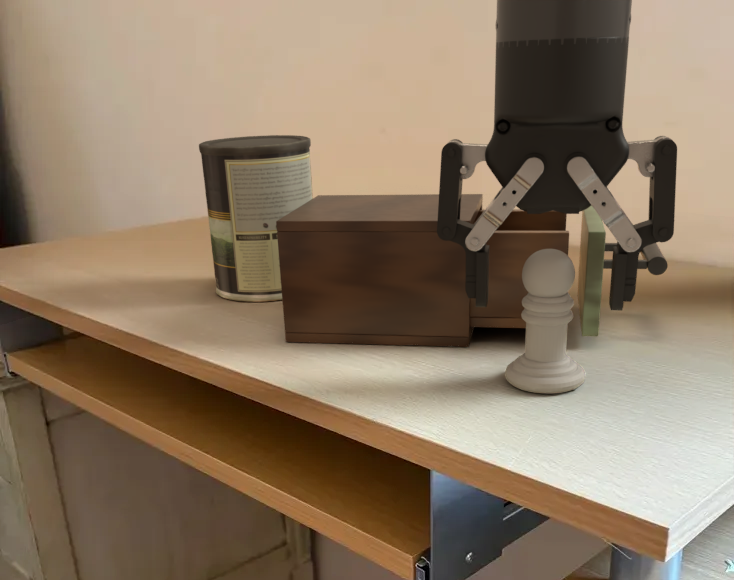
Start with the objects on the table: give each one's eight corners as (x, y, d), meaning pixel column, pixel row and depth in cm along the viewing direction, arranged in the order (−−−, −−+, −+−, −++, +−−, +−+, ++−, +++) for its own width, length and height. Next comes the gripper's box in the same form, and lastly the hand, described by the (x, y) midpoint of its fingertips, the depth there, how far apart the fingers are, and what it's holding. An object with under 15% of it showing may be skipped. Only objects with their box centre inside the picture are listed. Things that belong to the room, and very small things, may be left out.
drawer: (647, 297, 71) (656, 204, 68) (664, 338, 61) (676, 231, 58) (436, 293, 75) (435, 205, 72) (418, 332, 64) (416, 231, 61)
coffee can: (194, 297, 80) (175, 145, 75) (252, 273, 89) (240, 135, 83) (285, 306, 76) (272, 146, 70) (337, 280, 84) (330, 134, 79)
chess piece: (544, 402, 53) (550, 262, 49) (488, 379, 57) (491, 248, 53) (602, 383, 55) (612, 249, 52) (545, 362, 60) (551, 237, 56)
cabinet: (481, 302, 75) (482, 193, 71) (468, 347, 63) (470, 220, 60) (324, 299, 78) (317, 195, 74) (285, 342, 66) (275, 221, 62)
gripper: (430, 38, 46) (432, 320, 52) (703, 26, 43) (670, 325, 49) (445, 40, 53) (445, 289, 59) (682, 30, 50) (655, 293, 56)
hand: (548, 306), depth 54 cm, fingers open, 8 cm apart
